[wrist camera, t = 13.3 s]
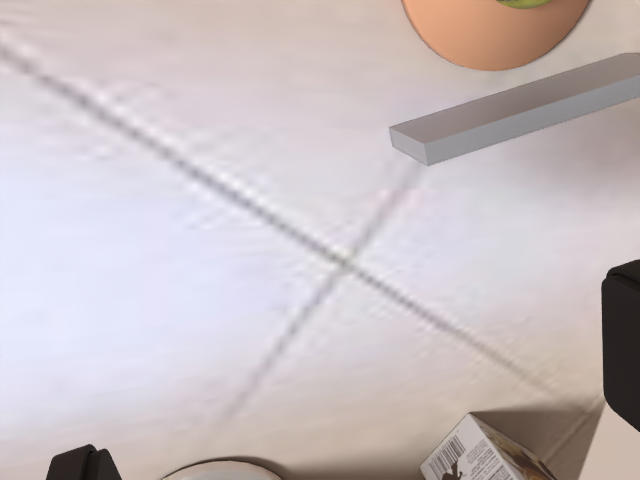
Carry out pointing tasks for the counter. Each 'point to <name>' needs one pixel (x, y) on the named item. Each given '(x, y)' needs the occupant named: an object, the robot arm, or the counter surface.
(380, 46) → the counter surface
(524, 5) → the lime
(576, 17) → the peach domed disc
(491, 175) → the counter surface
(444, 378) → the counter surface
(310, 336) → the counter surface
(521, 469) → the coffee box
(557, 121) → the low wall
